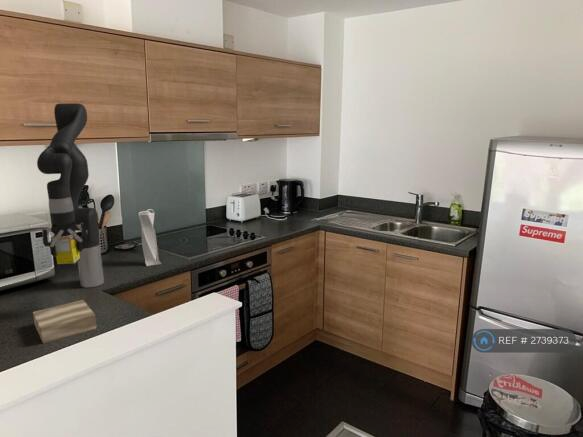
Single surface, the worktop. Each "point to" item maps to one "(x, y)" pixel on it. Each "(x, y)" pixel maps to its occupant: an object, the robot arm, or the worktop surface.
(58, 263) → the supplement box
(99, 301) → the worktop surface
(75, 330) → the oak support block
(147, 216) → the skyscraper
